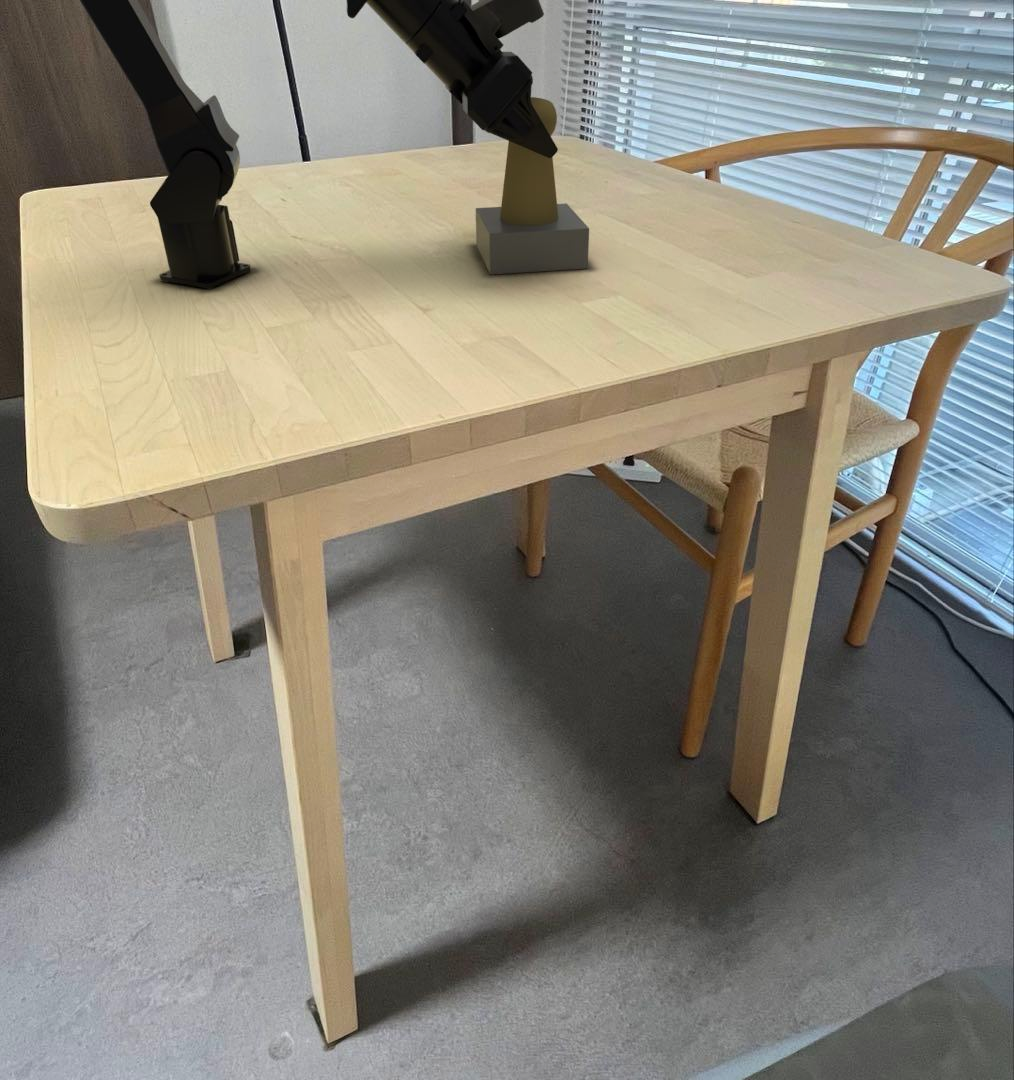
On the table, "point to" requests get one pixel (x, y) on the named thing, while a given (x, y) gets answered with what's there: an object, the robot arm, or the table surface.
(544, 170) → the olive brown pawn
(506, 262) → the grey block
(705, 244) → the table surface
